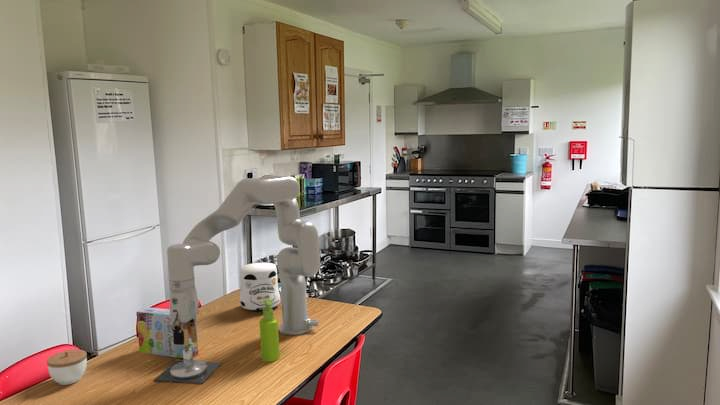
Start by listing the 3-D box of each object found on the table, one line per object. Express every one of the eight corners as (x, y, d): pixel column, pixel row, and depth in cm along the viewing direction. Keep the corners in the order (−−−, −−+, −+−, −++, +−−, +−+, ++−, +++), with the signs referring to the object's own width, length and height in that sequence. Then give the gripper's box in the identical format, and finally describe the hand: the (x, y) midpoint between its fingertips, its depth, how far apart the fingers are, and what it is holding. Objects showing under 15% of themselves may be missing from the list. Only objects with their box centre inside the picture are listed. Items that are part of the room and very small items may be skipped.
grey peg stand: (222, 363, 170) (220, 341, 169) (202, 383, 157) (201, 359, 156) (176, 361, 173) (174, 339, 172) (153, 381, 159) (151, 357, 158)
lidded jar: (95, 371, 167) (92, 343, 166) (78, 388, 156) (74, 358, 155) (61, 373, 167) (58, 345, 165) (42, 389, 156) (38, 359, 155)
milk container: (261, 317, 212) (258, 274, 210) (231, 310, 222) (228, 269, 219) (289, 304, 227) (287, 264, 224) (260, 298, 236) (257, 260, 234)
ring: (200, 337, 166) (200, 322, 165) (190, 346, 159) (189, 330, 158) (180, 336, 167) (179, 321, 166) (169, 345, 160) (168, 329, 160)
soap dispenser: (265, 364, 169) (262, 305, 166) (259, 356, 175) (256, 299, 172) (282, 360, 171) (280, 301, 168) (276, 352, 177) (273, 296, 175)
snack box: (199, 353, 179) (196, 311, 177) (189, 360, 174) (186, 316, 172) (149, 346, 186) (146, 306, 184) (138, 353, 181) (134, 311, 178)
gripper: (179, 292, 152) (182, 351, 154) (205, 277, 169) (208, 329, 171) (155, 291, 153) (159, 350, 155) (184, 276, 170) (187, 328, 172)
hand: (185, 338), depth 163 cm, fingers closed on ring, 7 cm apart
